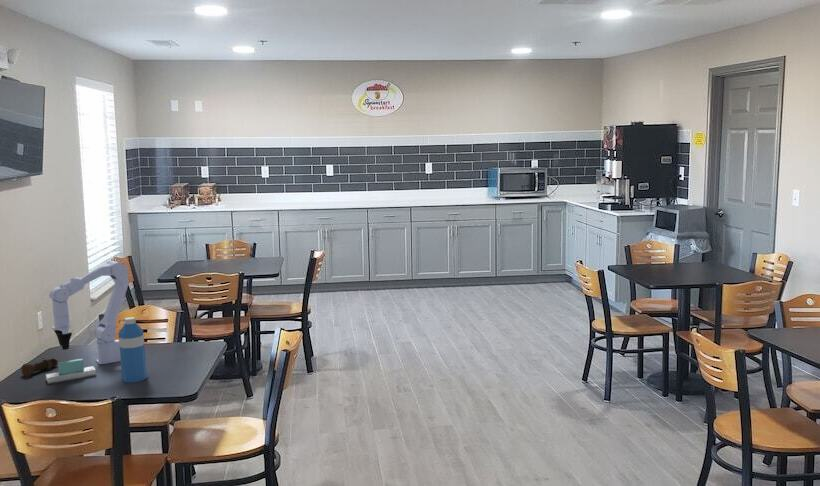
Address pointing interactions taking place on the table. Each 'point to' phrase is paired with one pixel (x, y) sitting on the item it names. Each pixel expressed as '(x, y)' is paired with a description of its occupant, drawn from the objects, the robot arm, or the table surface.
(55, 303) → the robot arm
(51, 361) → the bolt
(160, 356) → the table surface
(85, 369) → the rail
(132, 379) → the water bottle
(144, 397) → the table surface
